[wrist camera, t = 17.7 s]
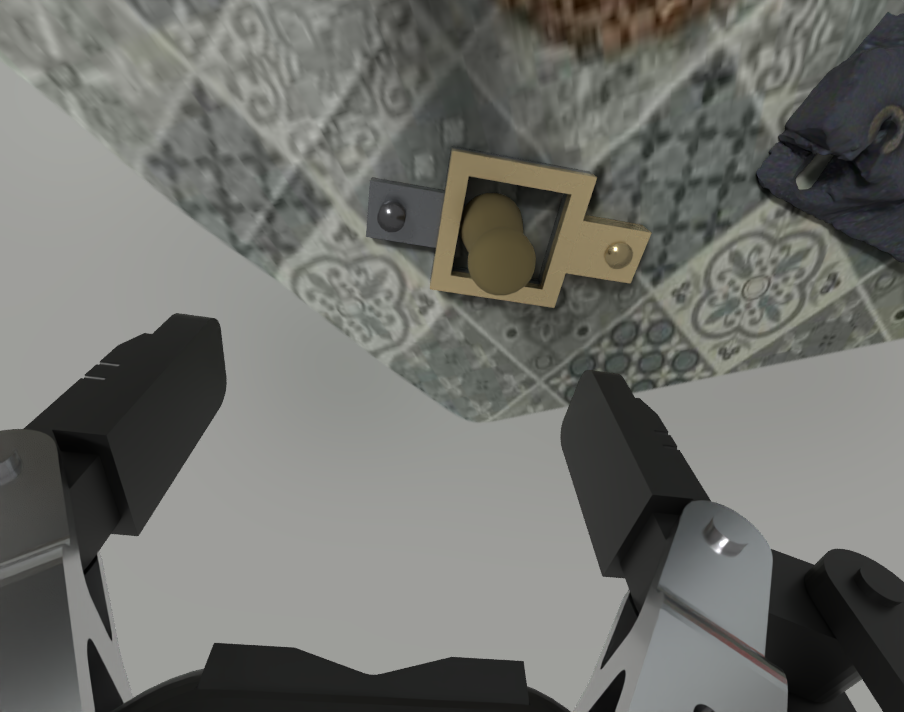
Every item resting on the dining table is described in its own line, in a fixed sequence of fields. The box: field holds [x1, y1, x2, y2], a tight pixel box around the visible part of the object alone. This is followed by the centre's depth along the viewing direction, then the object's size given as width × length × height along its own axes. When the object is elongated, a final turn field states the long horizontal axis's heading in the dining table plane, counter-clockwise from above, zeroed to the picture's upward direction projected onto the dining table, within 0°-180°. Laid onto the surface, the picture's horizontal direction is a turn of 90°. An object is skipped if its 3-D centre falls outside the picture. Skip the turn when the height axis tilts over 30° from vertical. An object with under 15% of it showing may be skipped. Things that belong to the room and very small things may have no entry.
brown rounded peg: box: [459, 193, 536, 296], centre depth 38 cm, size 6×6×11 cm
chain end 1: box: [366, 146, 592, 284], centre depth 41 cm, size 12×19×3 cm, turn 80°
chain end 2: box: [430, 148, 651, 308], centre depth 42 cm, size 12×19×3 cm, turn 80°
